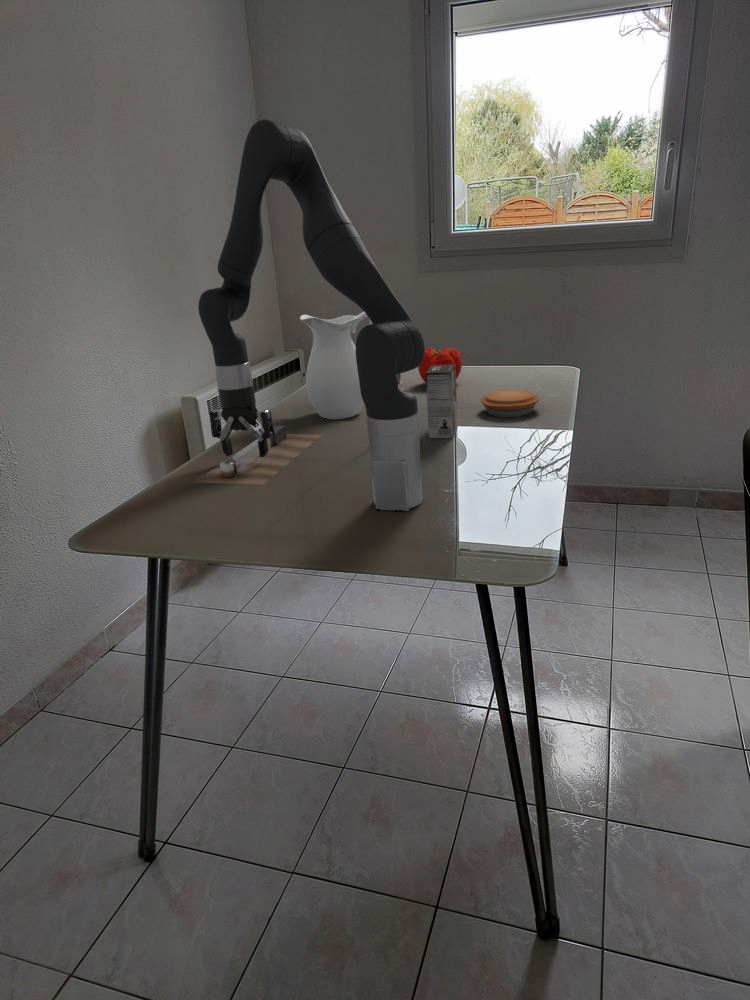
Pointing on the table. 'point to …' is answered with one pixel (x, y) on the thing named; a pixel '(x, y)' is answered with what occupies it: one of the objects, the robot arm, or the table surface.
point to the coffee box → (441, 401)
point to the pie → (509, 402)
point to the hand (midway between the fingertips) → (246, 455)
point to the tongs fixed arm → (228, 467)
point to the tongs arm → (257, 449)
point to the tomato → (440, 360)
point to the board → (264, 462)
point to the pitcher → (333, 367)
